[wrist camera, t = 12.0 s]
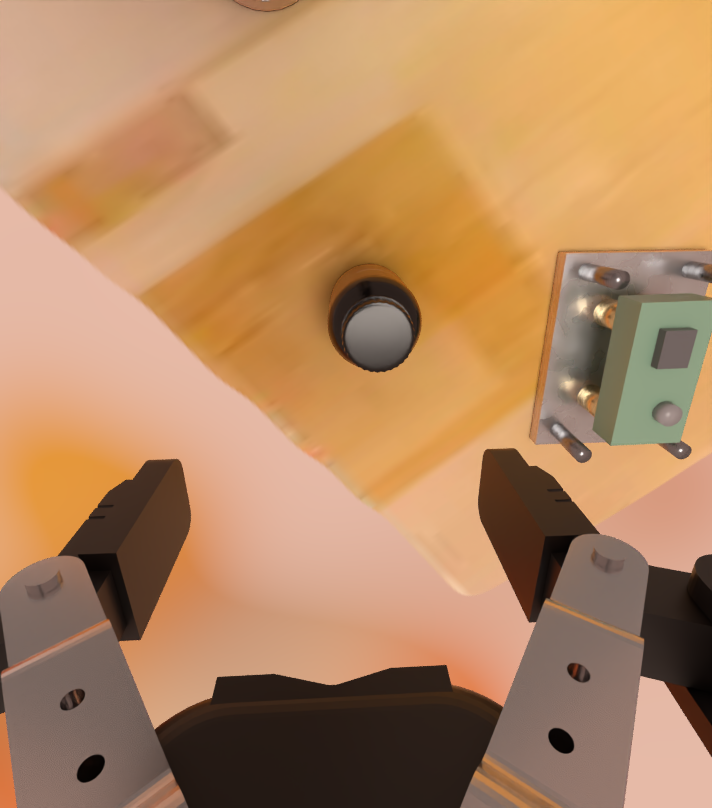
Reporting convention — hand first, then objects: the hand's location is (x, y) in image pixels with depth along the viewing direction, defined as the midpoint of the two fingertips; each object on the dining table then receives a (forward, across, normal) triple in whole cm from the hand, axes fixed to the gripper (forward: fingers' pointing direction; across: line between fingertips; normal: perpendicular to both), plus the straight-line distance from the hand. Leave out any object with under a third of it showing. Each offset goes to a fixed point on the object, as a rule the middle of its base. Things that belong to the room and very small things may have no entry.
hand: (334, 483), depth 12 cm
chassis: (+30, -26, +6) cm, 40 cm away
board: (+26, -26, +6) cm, 37 cm away
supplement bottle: (+30, -3, +1) cm, 30 cm away
